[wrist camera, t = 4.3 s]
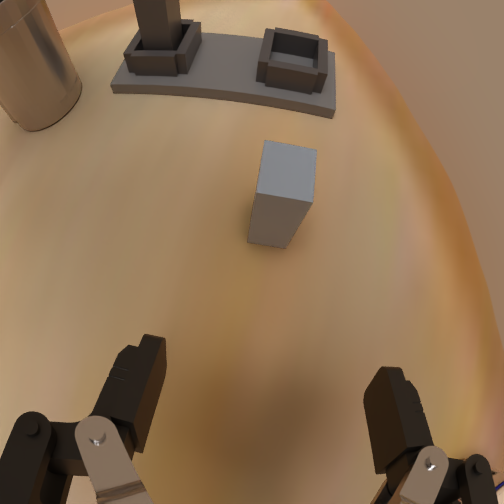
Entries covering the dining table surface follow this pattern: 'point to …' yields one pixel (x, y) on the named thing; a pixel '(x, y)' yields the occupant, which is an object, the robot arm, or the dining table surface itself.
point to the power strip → (226, 63)
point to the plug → (282, 193)
